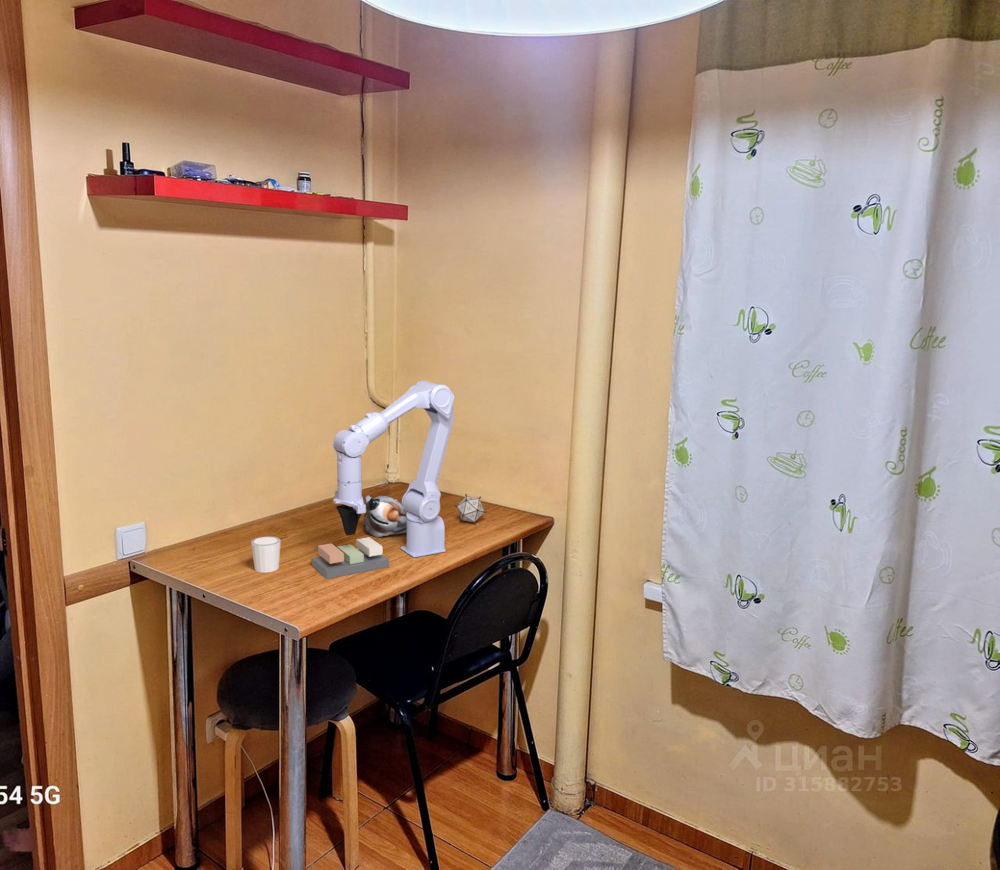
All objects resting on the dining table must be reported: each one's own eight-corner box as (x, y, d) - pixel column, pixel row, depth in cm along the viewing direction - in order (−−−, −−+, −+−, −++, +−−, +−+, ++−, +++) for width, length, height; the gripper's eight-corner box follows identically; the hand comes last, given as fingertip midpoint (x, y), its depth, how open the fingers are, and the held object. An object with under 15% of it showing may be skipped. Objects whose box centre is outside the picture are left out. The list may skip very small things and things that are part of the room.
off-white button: (369, 544, 201) (369, 537, 200) (382, 554, 194) (382, 546, 194) (356, 546, 199) (356, 539, 198) (369, 556, 192) (369, 548, 192)
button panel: (372, 554, 203) (372, 547, 202) (389, 567, 194) (389, 559, 194) (311, 565, 194) (311, 557, 194) (326, 578, 186) (326, 570, 185)
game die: (464, 533, 233) (454, 501, 237) (491, 523, 233) (481, 492, 236) (458, 526, 225) (448, 494, 228) (486, 516, 225) (476, 484, 228)
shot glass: (264, 575, 187) (263, 547, 185) (245, 568, 191) (244, 541, 189) (287, 567, 192) (286, 540, 191) (268, 561, 196) (268, 534, 195)
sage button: (350, 551, 198) (350, 544, 198) (363, 561, 191) (363, 554, 191) (337, 554, 196) (337, 546, 196) (349, 564, 190) (349, 556, 189)
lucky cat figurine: (422, 529, 224) (423, 494, 215) (397, 556, 215) (397, 520, 206) (378, 507, 229) (378, 472, 220) (352, 532, 220) (351, 497, 211)
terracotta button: (331, 551, 195) (331, 543, 195) (344, 561, 189) (343, 553, 188) (317, 553, 193) (317, 545, 193) (330, 563, 187) (329, 555, 186)
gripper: (322, 475, 194) (323, 528, 196) (345, 489, 182) (346, 545, 185) (349, 472, 198) (350, 524, 200) (373, 485, 186) (374, 541, 188)
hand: (350, 534), depth 193 cm, fingers closed
